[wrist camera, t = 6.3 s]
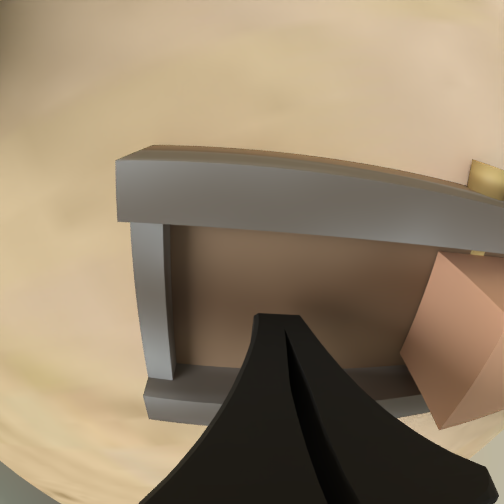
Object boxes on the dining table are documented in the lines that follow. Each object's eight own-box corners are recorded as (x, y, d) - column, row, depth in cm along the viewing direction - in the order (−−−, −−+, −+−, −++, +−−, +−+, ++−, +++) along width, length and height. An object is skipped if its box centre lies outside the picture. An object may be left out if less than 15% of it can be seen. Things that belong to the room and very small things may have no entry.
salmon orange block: (474, 345, 13) (516, 404, 9) (399, 352, 12) (439, 430, 8) (512, 258, 11) (573, 310, 7) (438, 251, 10) (510, 318, 6)
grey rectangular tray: (524, 356, 16) (546, 384, 13) (165, 378, 15) (152, 433, 12) (585, 207, 11) (618, 227, 8) (154, 111, 10) (116, 112, 6)
